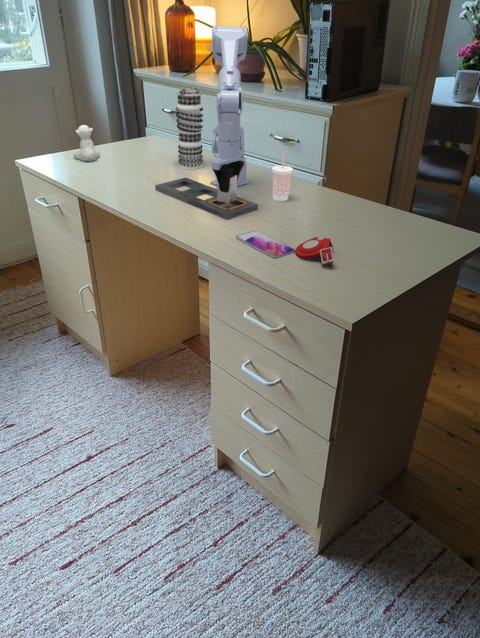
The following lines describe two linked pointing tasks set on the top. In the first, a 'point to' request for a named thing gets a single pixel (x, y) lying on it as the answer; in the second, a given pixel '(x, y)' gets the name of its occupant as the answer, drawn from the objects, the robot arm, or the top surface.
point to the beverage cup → (281, 181)
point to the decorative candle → (189, 128)
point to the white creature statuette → (86, 145)
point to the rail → (208, 204)
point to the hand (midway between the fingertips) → (228, 189)
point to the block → (231, 193)
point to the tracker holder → (316, 250)
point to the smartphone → (265, 244)
